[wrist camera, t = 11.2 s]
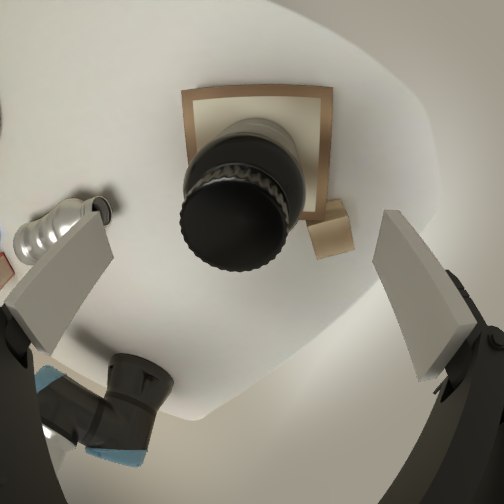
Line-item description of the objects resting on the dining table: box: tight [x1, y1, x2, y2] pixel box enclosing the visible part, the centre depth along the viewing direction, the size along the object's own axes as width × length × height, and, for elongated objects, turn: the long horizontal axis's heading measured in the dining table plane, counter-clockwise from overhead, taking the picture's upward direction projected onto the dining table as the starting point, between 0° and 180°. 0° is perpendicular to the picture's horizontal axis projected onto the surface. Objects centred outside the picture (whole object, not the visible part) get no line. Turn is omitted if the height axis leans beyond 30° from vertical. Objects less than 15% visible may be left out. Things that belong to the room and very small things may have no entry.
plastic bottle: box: [13, 196, 112, 265], centre depth 29 cm, size 6×7×20 cm
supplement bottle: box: [179, 118, 306, 272], centre depth 16 cm, size 7×7×12 cm
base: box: [181, 84, 333, 220], centre depth 23 cm, size 12×12×4 cm
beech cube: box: [306, 198, 355, 260], centre depth 27 cm, size 4×4×4 cm
